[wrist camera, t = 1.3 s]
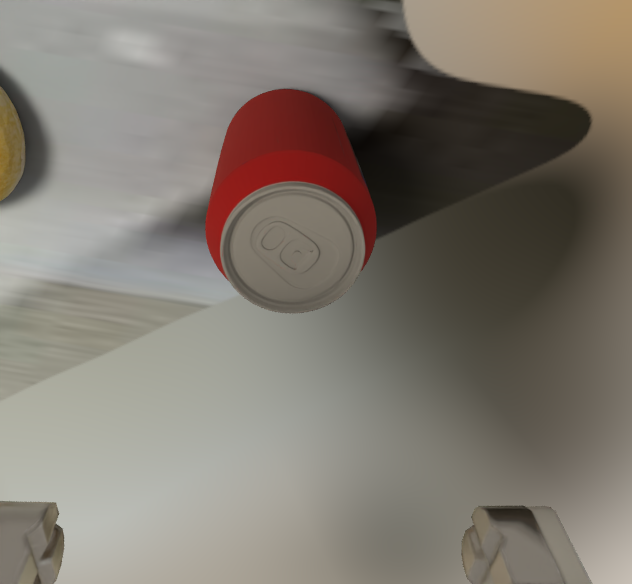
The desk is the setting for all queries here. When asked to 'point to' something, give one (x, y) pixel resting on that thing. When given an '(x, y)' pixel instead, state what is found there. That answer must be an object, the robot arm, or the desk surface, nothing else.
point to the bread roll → (10, 146)
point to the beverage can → (289, 205)
